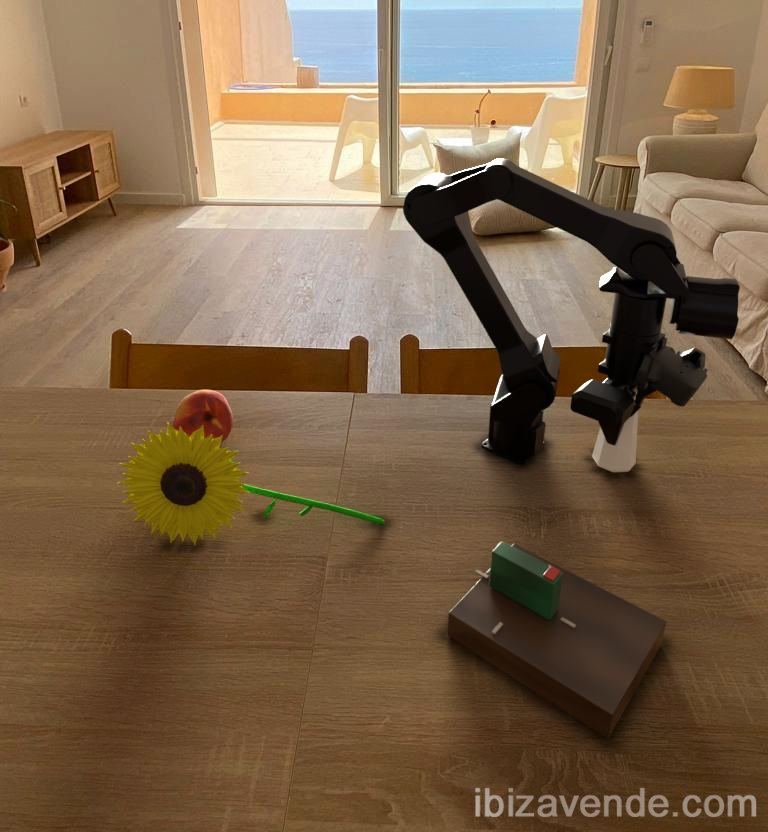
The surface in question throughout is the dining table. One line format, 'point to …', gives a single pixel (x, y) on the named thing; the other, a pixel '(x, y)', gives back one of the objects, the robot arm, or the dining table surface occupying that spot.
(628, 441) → the pepper shaker
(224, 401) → the fruit
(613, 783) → the dining table surface
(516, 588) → the pointer knob
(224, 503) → the decorative plant
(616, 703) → the dial panel
